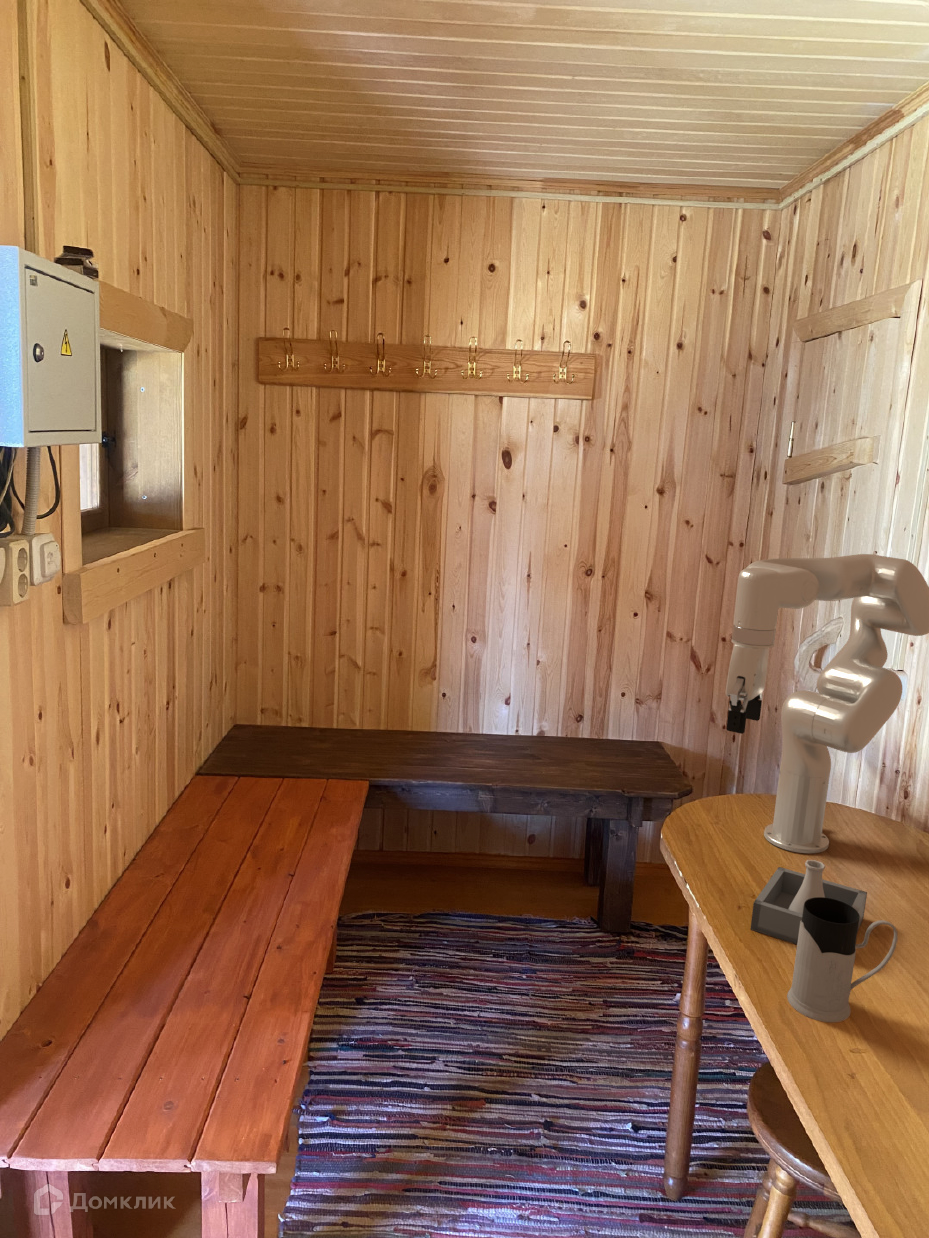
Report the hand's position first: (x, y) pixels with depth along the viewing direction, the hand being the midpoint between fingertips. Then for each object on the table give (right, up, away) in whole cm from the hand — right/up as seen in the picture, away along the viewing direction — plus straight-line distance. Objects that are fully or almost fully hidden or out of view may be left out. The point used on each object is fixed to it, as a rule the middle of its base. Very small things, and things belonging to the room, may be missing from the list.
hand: (743, 725), depth 171 cm
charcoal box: (+7, -32, -14) cm, 36 cm away
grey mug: (+3, -37, -36) cm, 52 cm away
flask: (+7, -31, -14) cm, 35 cm away
